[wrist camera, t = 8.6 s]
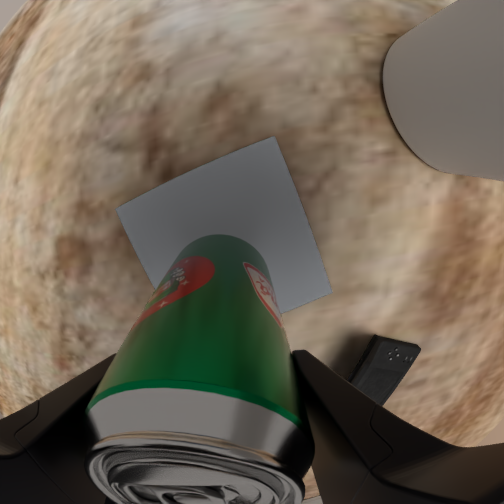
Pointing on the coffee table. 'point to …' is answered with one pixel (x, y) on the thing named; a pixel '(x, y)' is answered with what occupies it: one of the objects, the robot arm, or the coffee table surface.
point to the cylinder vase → (452, 88)
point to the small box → (313, 500)
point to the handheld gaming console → (383, 367)
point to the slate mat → (232, 220)
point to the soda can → (203, 391)
